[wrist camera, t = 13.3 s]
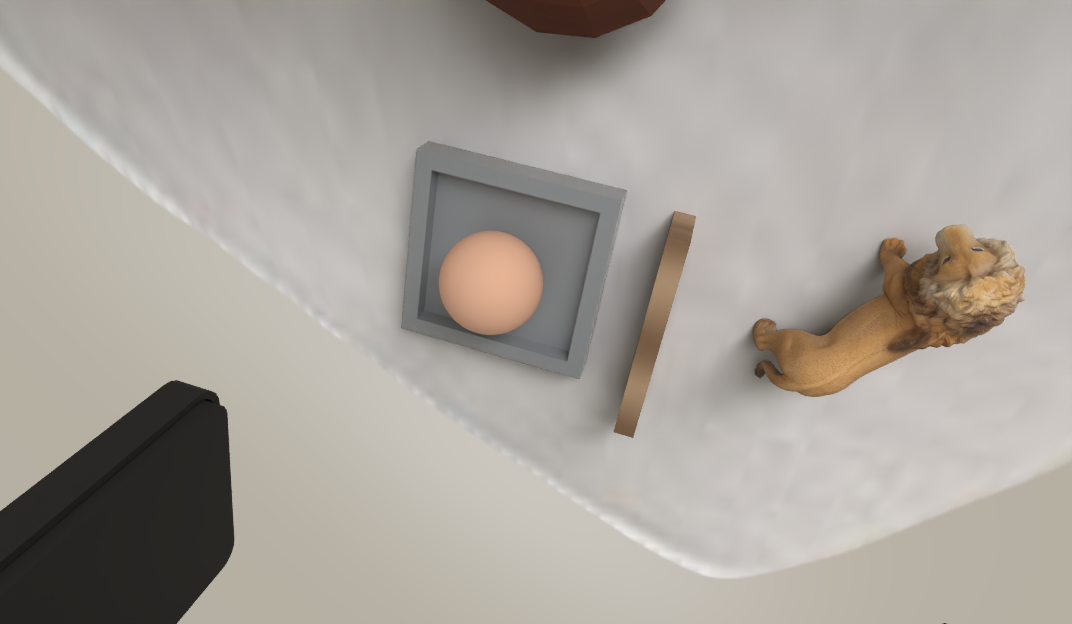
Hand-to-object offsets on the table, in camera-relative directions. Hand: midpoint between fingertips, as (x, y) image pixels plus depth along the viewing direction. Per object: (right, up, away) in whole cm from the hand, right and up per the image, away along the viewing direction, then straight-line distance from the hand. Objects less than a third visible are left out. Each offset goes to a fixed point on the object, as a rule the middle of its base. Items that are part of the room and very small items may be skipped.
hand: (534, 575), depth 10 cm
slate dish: (-2, +7, +36) cm, 36 cm away
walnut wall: (+7, +3, +35) cm, 36 cm away
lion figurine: (+18, +5, +31) cm, 36 cm away
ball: (-2, +7, +35) cm, 36 cm away
